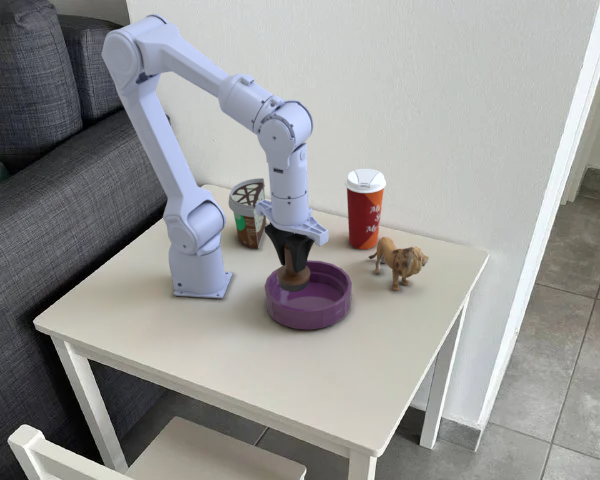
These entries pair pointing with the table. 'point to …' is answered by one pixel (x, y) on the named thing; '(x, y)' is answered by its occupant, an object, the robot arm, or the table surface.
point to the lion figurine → (399, 260)
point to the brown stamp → (292, 275)
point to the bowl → (311, 298)
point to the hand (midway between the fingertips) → (293, 266)
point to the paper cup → (364, 206)
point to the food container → (248, 211)
